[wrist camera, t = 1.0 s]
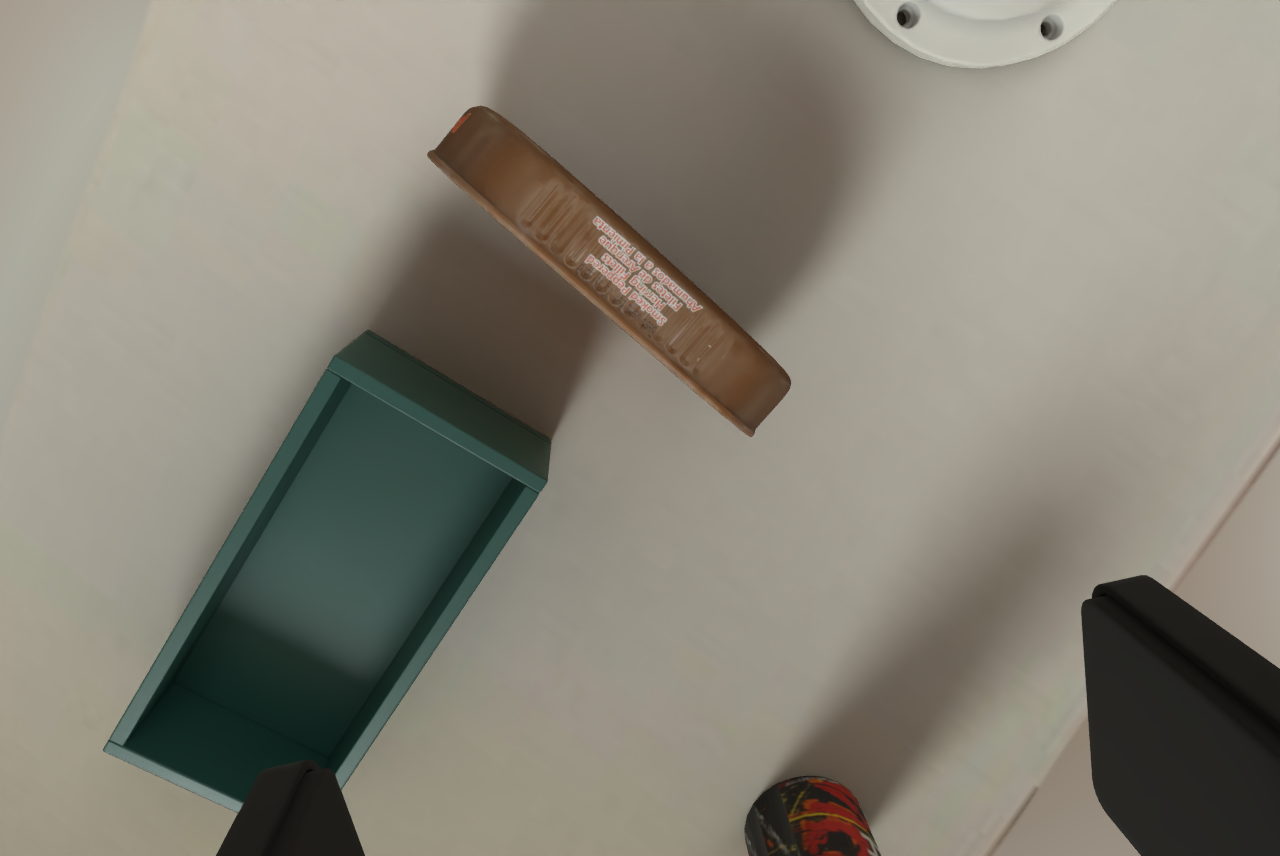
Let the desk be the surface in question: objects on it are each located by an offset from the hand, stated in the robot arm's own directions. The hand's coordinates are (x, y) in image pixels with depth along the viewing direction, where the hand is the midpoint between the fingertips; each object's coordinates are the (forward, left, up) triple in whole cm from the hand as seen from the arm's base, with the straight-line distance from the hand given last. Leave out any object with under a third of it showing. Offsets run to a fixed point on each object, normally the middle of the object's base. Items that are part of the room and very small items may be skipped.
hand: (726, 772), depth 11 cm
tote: (+14, -5, -27) cm, 31 cm away
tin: (-3, -2, -27) cm, 27 cm away
